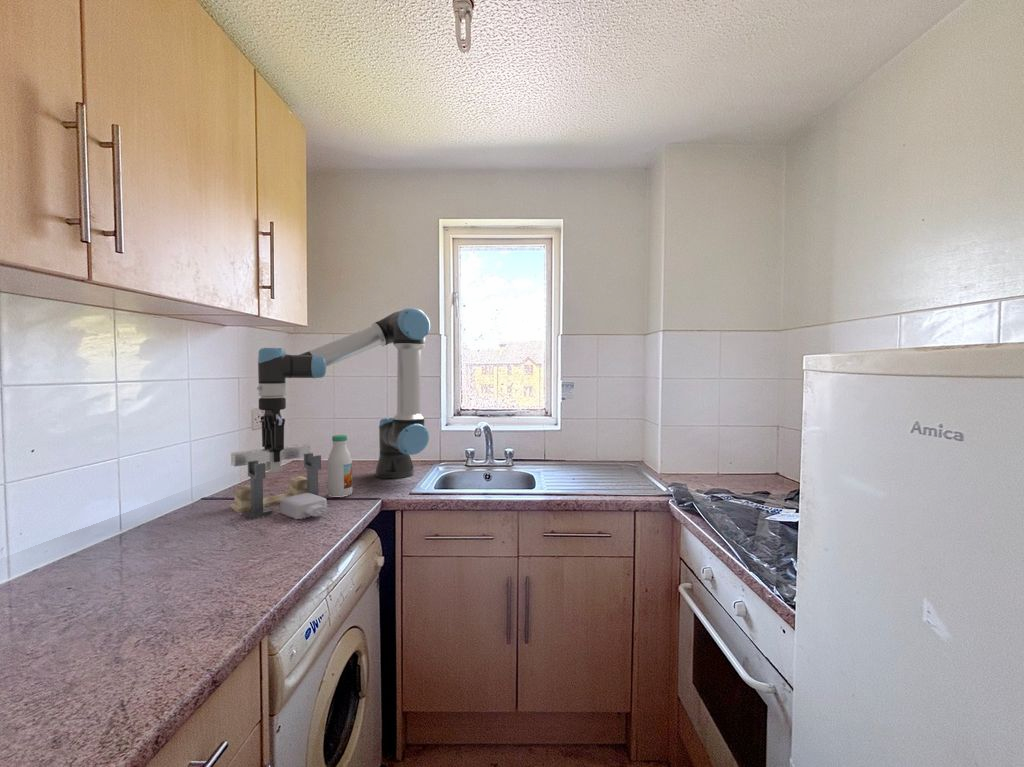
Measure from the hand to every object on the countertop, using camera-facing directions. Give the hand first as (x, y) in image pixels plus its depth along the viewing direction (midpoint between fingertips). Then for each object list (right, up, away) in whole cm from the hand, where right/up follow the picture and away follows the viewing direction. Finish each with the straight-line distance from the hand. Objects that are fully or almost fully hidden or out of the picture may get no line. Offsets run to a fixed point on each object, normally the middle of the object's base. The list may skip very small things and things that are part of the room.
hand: (273, 470), depth 139 cm
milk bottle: (+18, -10, +8) cm, 22 cm away
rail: (0, +3, 0) cm, 3 cm away
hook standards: (+7, -10, -6) cm, 14 cm away
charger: (+17, -11, -12) cm, 24 cm away
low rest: (0, -10, 0) cm, 10 cm away
